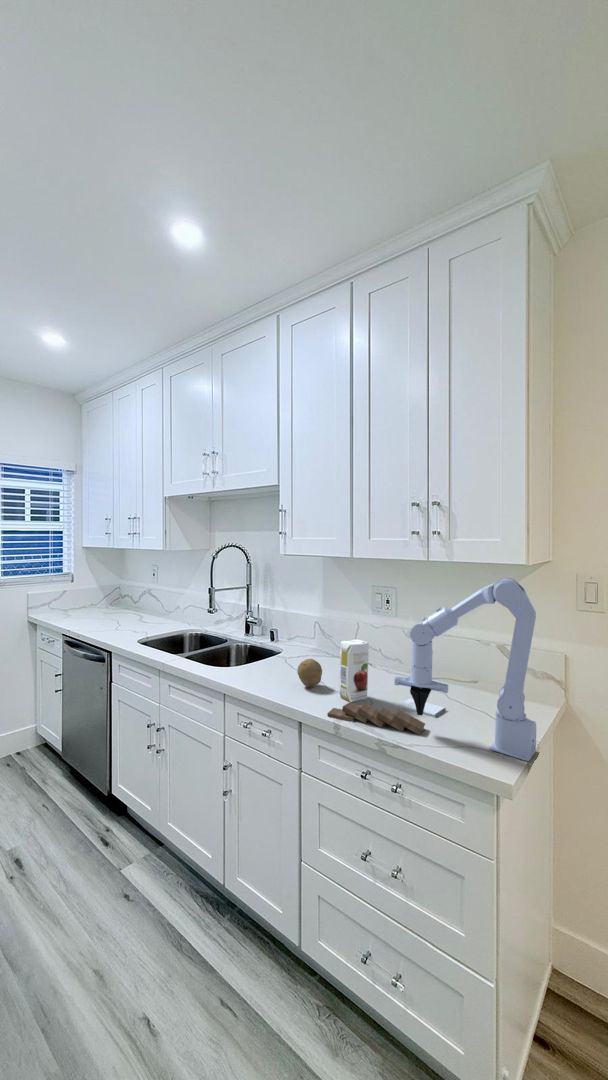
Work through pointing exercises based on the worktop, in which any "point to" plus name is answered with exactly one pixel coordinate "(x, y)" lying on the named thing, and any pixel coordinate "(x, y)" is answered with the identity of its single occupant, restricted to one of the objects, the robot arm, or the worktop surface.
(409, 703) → the external hard drive
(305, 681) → the brown round lump
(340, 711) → the domino
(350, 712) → the domino
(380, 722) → the domino
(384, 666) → the worktop surface
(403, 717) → the domino
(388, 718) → the domino
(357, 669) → the juice carton
